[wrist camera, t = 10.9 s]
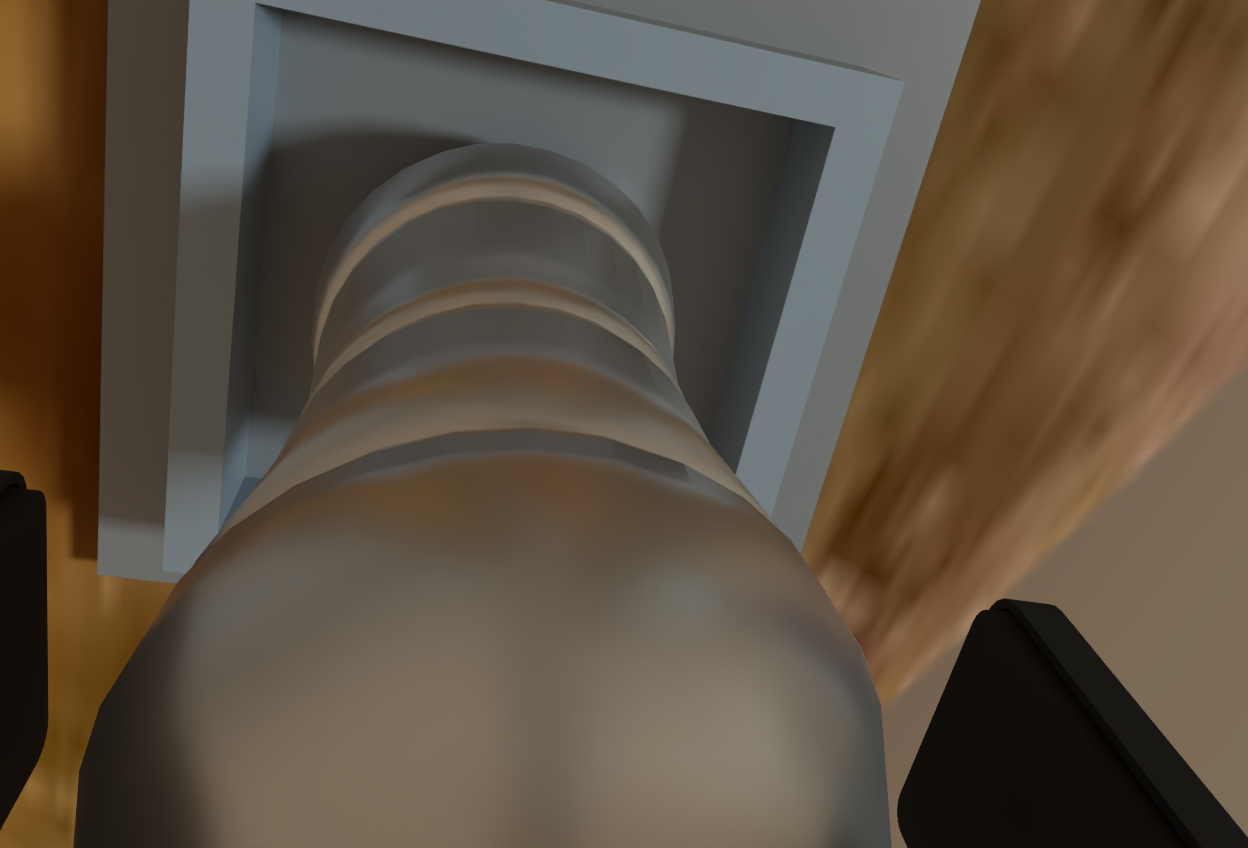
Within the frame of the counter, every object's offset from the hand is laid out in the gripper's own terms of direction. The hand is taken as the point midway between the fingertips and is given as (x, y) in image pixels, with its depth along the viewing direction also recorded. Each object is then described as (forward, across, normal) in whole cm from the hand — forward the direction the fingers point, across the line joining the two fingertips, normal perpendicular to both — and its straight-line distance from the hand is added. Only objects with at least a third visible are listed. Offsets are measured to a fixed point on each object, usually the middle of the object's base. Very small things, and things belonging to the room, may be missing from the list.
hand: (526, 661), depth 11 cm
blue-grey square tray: (+13, 0, 0) cm, 13 cm away
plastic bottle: (+13, 0, 0) cm, 13 cm away
